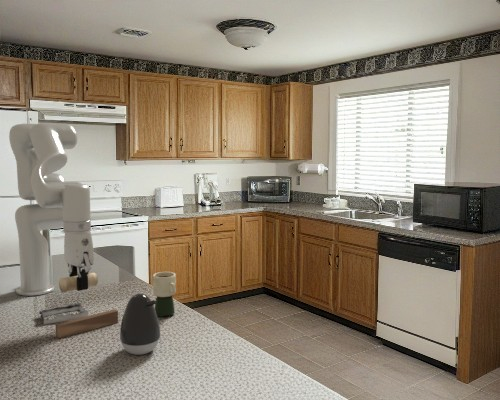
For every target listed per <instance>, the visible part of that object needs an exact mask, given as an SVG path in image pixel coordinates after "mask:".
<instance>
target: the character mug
mask: <svg viewBox="0 0 500 400" xmlns="http://www.w3.org/2000/svg"><path fill="white" fill-rule="evenodd" d="M176 284H177V276H176V273H175V272H172V271H160V272H159V271H158V272H155V273H153V275H152V294H153V296H155V297H156V298H155V301H156V304H154V308H155V311H156V314H157V317H158V316H159V317H163V316H164V317H165V316H166V317H168V316H170V315H174V314H175V311H176V310H175V304H174V299H173V297H172V296H174V295H175V294H176V292H177V289H176Z"/></svg>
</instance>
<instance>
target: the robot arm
mask: <svg viewBox="0 0 500 400" xmlns="http://www.w3.org/2000/svg"><path fill="white" fill-rule="evenodd" d="M8 133H9V136H8V137H9V139H8V140H9V144H10V147H11V150H12V153H13V156H14V159H15V162H16V173H17V174H16V175H17V190H18V194H19V198H21V199H22V200H24V201H36V203H32V204H31V203H28V204H25V205H21V206H18V207H17V209H16V210H15V213H14V220H15V225H16V230H17V235H18V237H17V238H18V251H19V269H20V270H19V271H20V275H19V276H20V286H19V287H17V288H16V289H15V293H16V294H17V295H19V296H25V297H29V296H32V297H33V296H40V295H44V294H45V295H46V294H49V293H51V292H53V291H54V289H55V285H54V284H52V283H50V261H49V260H50V259H49V255H50V254H49V243H48V240H47V238H46V237H45V235H43V234H42V233H41V232H42V231H47V230H48V231H49V230H56V229H57V230H58V229H62V228H63V229H62V230H63V231H62V232H63V233H64V240H63V242H64V243H63V244H64V245H63V250H64V251H63V253H64V261H65V262H66V264H67V267H68V274H69V275H68V277H72V276H78V277H77V290H76V291H78V292H80V291H85V290H88V289H89V287H88V275H89V272H90V271H91V270H92V266H93V265H94V263H95V257H94V256H95V254H94V244H93V237H92V232H91V231H92V229H91V228H92V227H91V225H92V223H91V191H90V187H89V185H88V184H84V183H82V182H79V181H65V180H66V179H65V178H64V176H62V175H61V174H59V173H57V171H59V170H61V169H63V168H64V167H65V166H66V164H67V163H68V155H67V153H66V151H65V150H72V149H74V148H75V147H76V146H77V144H78V134H77V131H76V130H75V127H74V126H72V125H71V124H68V123H55V122H39V123H18V124H15V125H12V126H11V127H10V129H9V132H8Z"/></svg>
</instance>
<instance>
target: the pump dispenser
mask: <svg viewBox="0 0 500 400" xmlns="http://www.w3.org/2000/svg"><path fill="white" fill-rule="evenodd" d="M155 304H156V299H154V300H153V299H152V300H151V298H150V297H149V296H148V295H147V294H145V293H136V294H134V295H132V296H131V297H130V299H129V300H128V302H127V304H126V306H125V309H124V312H123V315H122V318H121V323H120V329H119V341H120V343H121V344H122V348H123V349H124V350H125V351H126V352H127V353H128V354H132V355H136V356H140V355H141V356H142V355H146V354H149V353H151V352H152V351H153V350H155V348H156V346H157V345H158V343H159V340H160V338H161V328H160V322H159V317H158V316H157V314H156V311H155Z"/></svg>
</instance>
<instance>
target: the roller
mask: <svg viewBox="0 0 500 400" xmlns="http://www.w3.org/2000/svg"><path fill="white" fill-rule="evenodd" d="M77 277H78V276H72V277H69V276H67V277H63V278H59V281H58V287H59V290H60V292H61V293H67V292H71V291H72V292H73V291H78V290H77ZM98 283H99V278H98V275H97V273H95V272H90V273H89V275H88V288H91V287H96V286H97V285H98Z"/></svg>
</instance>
